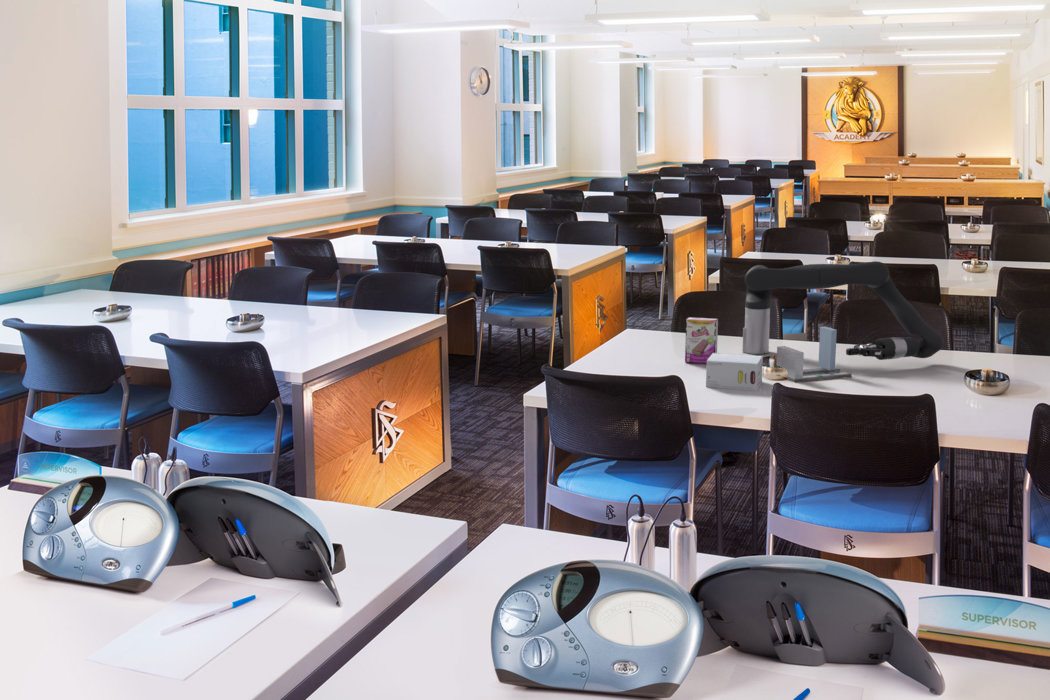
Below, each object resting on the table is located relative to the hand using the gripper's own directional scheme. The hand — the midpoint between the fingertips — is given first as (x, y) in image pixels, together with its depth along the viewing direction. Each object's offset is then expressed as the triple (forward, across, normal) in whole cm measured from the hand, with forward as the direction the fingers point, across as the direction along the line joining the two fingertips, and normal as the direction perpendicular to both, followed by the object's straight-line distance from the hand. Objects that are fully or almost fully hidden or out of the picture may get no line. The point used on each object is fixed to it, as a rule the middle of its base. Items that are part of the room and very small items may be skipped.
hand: (847, 352), depth 354 cm
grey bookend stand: (+14, +1, +7) cm, 16 cm away
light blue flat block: (+8, +2, +5) cm, 10 cm away
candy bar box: (+40, -32, +7) cm, 52 cm away
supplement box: (+45, +3, +7) cm, 46 cm away
